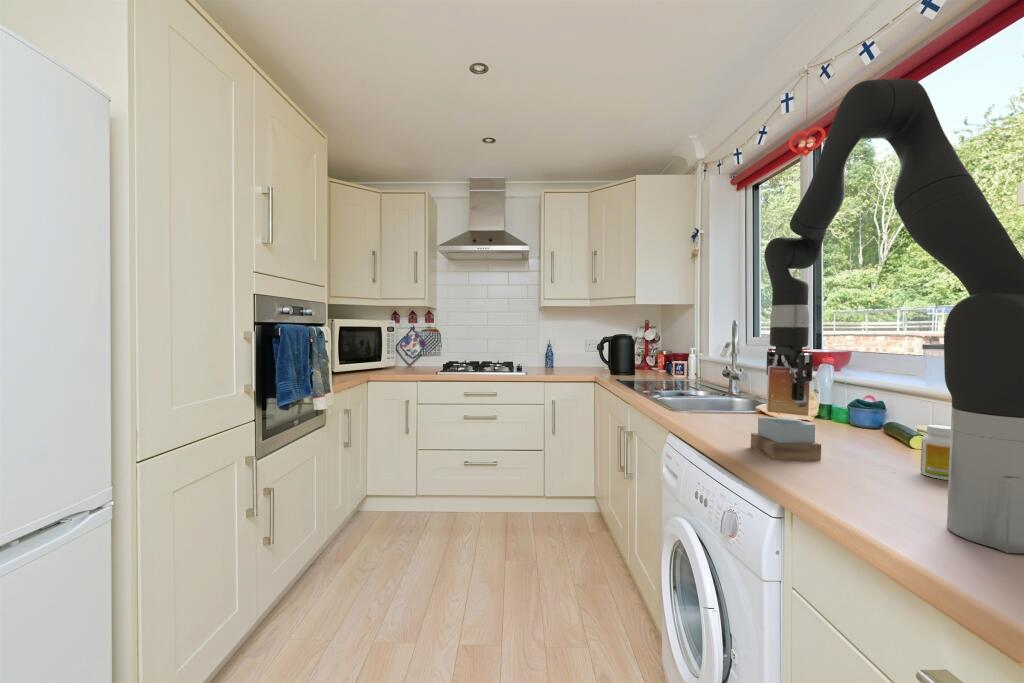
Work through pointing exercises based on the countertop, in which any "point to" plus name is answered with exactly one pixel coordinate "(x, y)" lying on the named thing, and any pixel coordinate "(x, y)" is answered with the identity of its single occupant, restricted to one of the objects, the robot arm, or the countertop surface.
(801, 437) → the slate top block
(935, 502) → the countertop surface
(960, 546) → the countertop surface
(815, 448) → the walnut base block
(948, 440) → the supplement bottle
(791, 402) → the small box
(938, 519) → the countertop surface
